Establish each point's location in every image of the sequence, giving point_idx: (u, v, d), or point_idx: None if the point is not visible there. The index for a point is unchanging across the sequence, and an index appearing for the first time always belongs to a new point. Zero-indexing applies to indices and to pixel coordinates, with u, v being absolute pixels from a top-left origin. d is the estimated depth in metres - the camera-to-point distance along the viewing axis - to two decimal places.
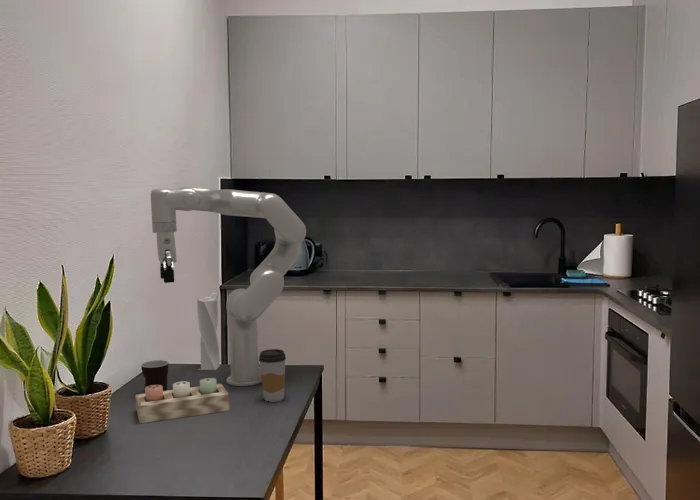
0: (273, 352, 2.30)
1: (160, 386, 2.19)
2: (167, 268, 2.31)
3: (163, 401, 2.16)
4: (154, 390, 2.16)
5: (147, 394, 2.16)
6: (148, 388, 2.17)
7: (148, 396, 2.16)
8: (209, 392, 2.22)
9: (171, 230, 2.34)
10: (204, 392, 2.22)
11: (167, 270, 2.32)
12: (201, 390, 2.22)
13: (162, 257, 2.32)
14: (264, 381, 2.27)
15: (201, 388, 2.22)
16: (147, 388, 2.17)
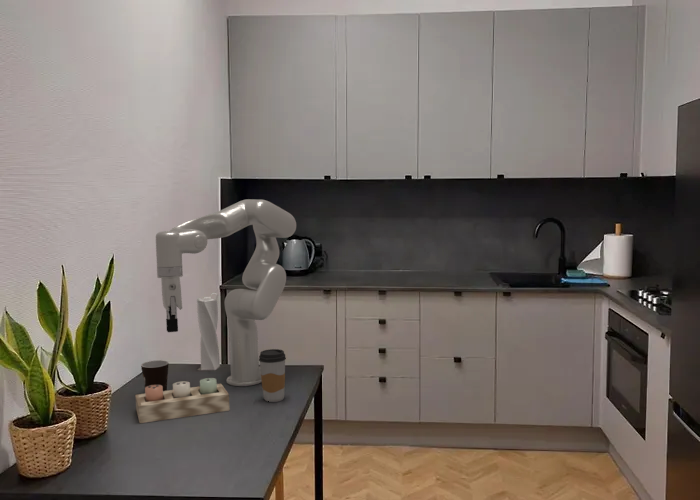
0: (273, 352, 2.30)
1: (160, 386, 2.19)
2: (171, 317, 2.23)
3: (163, 401, 2.16)
4: (154, 390, 2.16)
5: (147, 394, 2.16)
6: (148, 388, 2.17)
7: (148, 396, 2.16)
8: (209, 392, 2.22)
9: (177, 275, 2.22)
10: (204, 392, 2.22)
11: (171, 319, 2.24)
12: (201, 390, 2.22)
13: (167, 304, 2.20)
14: (264, 381, 2.27)
15: (201, 388, 2.22)
16: (147, 388, 2.17)
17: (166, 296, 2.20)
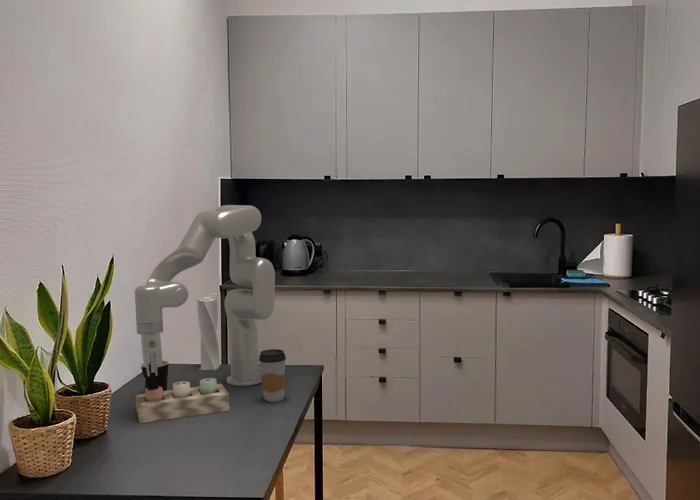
0: (273, 352, 2.30)
1: (160, 388, 2.19)
2: (151, 374, 2.15)
3: (163, 401, 2.16)
4: (154, 392, 2.16)
5: (147, 396, 2.17)
6: (148, 390, 2.17)
7: (148, 397, 2.16)
8: (209, 392, 2.22)
9: (157, 331, 2.14)
10: (204, 392, 2.22)
11: (151, 376, 2.16)
12: (201, 390, 2.22)
13: (147, 361, 2.12)
14: (264, 381, 2.27)
15: (201, 388, 2.22)
16: (147, 390, 2.17)
17: (146, 353, 2.12)
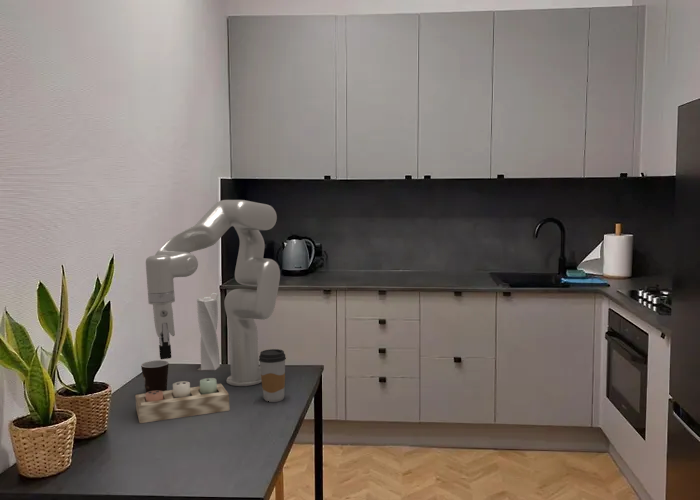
0: (273, 352, 2.30)
1: (160, 392, 2.19)
2: (163, 344, 2.16)
3: (163, 401, 2.16)
4: (154, 396, 2.16)
5: (147, 400, 2.17)
6: (148, 394, 2.17)
7: (148, 401, 2.17)
8: (209, 392, 2.22)
9: (168, 301, 2.14)
10: (204, 392, 2.22)
11: (163, 346, 2.17)
12: (201, 390, 2.22)
13: (159, 331, 2.13)
14: (264, 381, 2.27)
15: (201, 388, 2.22)
16: (147, 394, 2.18)
17: (158, 323, 2.12)
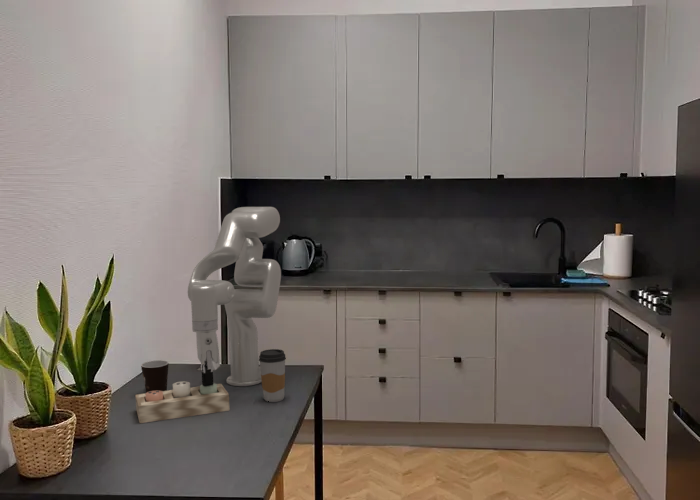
0: (273, 352, 2.30)
1: (160, 392, 2.19)
2: (206, 371, 2.21)
3: (163, 401, 2.16)
4: (154, 396, 2.16)
5: (147, 400, 2.17)
6: (148, 394, 2.17)
7: (148, 401, 2.17)
8: None
9: (212, 329, 2.19)
10: None
11: (206, 373, 2.22)
12: None
13: (203, 359, 2.18)
14: (264, 381, 2.27)
15: (202, 393, 2.22)
16: (147, 394, 2.18)
17: (202, 351, 2.17)
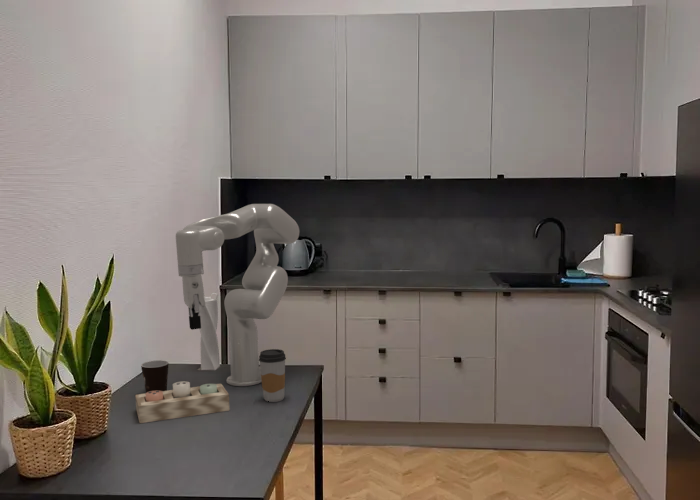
0: (273, 352, 2.30)
1: (160, 392, 2.19)
2: (194, 315, 2.25)
3: (163, 401, 2.16)
4: (154, 396, 2.16)
5: (147, 400, 2.17)
6: (148, 394, 2.17)
7: (148, 401, 2.17)
8: None
9: (199, 273, 2.23)
10: None
11: (194, 317, 2.26)
12: None
13: (190, 302, 2.21)
14: (264, 381, 2.27)
15: (202, 394, 2.22)
16: (147, 394, 2.18)
17: (189, 294, 2.21)
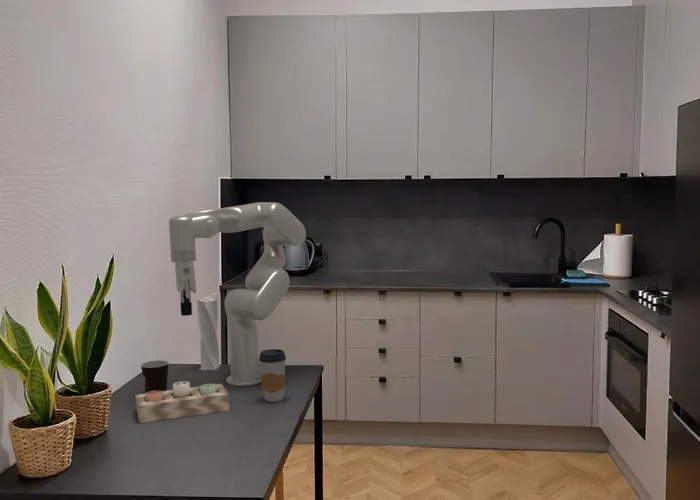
0: (273, 352, 2.30)
1: (160, 392, 2.19)
2: (185, 301, 2.27)
3: (163, 401, 2.16)
4: (154, 396, 2.16)
5: (147, 400, 2.17)
6: (148, 394, 2.17)
7: (148, 401, 2.17)
8: None
9: (190, 259, 2.25)
10: None
11: (185, 303, 2.28)
12: None
13: (181, 288, 2.23)
14: (264, 381, 2.27)
15: (202, 394, 2.22)
16: (147, 394, 2.18)
17: (180, 280, 2.23)
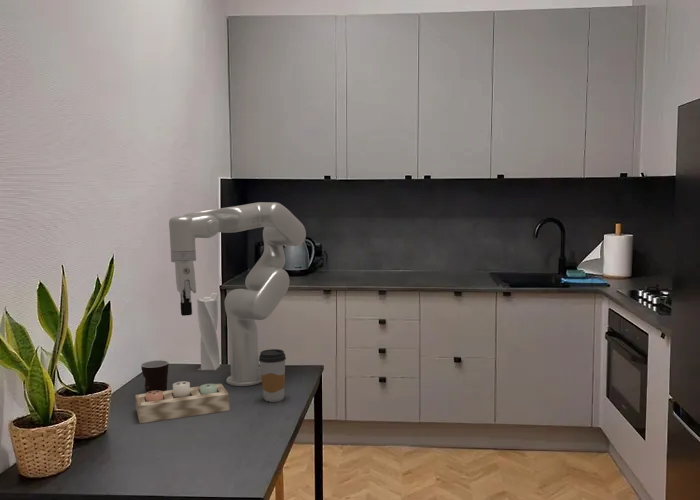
0: (273, 352, 2.30)
1: (160, 392, 2.19)
2: (185, 301, 2.27)
3: (163, 401, 2.16)
4: (154, 396, 2.16)
5: (147, 400, 2.17)
6: (148, 394, 2.17)
7: (148, 401, 2.17)
8: None
9: (190, 259, 2.25)
10: None
11: (185, 303, 2.28)
12: None
13: (181, 288, 2.23)
14: (264, 381, 2.27)
15: (202, 394, 2.22)
16: (147, 394, 2.18)
17: (180, 280, 2.23)
